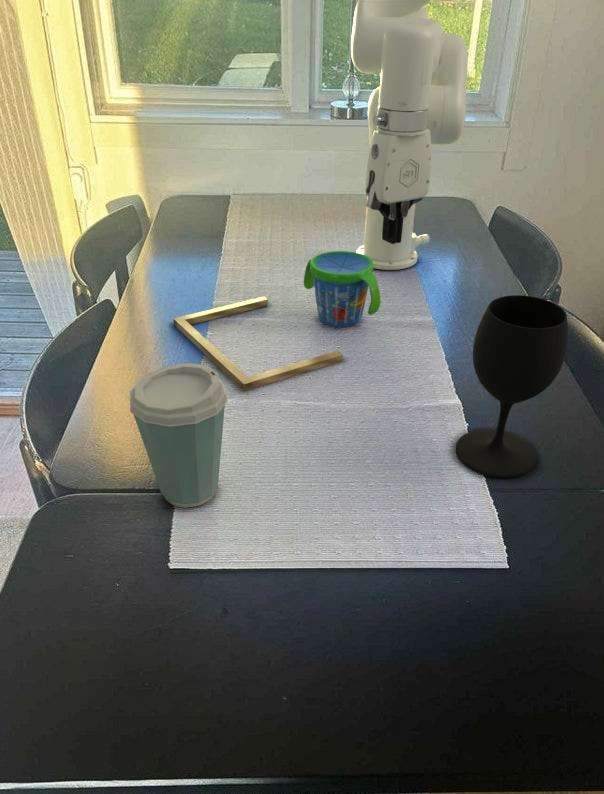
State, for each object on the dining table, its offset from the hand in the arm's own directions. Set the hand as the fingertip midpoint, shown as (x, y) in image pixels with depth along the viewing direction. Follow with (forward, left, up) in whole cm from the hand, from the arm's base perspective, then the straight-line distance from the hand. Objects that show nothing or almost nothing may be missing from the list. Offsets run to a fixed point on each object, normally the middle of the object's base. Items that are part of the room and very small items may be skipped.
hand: (391, 240), depth 118 cm
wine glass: (+15, +43, -12) cm, 47 cm away
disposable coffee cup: (+52, +29, -12) cm, 60 cm away
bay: (+26, 0, -12) cm, 28 cm away
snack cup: (+10, 0, -12) cm, 16 cm away
